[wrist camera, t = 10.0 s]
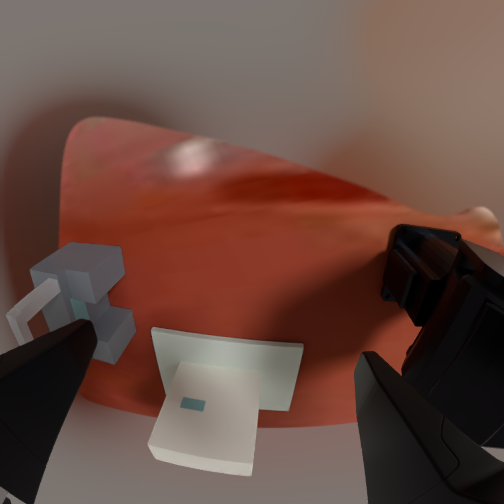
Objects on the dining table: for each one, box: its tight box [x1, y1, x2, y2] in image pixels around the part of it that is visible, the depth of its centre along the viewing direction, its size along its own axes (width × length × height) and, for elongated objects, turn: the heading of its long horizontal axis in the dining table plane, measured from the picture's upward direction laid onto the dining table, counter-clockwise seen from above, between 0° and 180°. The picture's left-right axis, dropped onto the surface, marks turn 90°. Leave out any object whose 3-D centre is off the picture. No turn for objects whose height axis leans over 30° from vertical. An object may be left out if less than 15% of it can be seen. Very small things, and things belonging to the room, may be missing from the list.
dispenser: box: [6, 242, 136, 365], centre depth 19 cm, size 6×9×11 cm, turn 177°
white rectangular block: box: [148, 361, 262, 476], centre depth 21 cm, size 8×3×10 cm, turn 87°
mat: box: [151, 327, 304, 411], centre depth 26 cm, size 14×10×1 cm
